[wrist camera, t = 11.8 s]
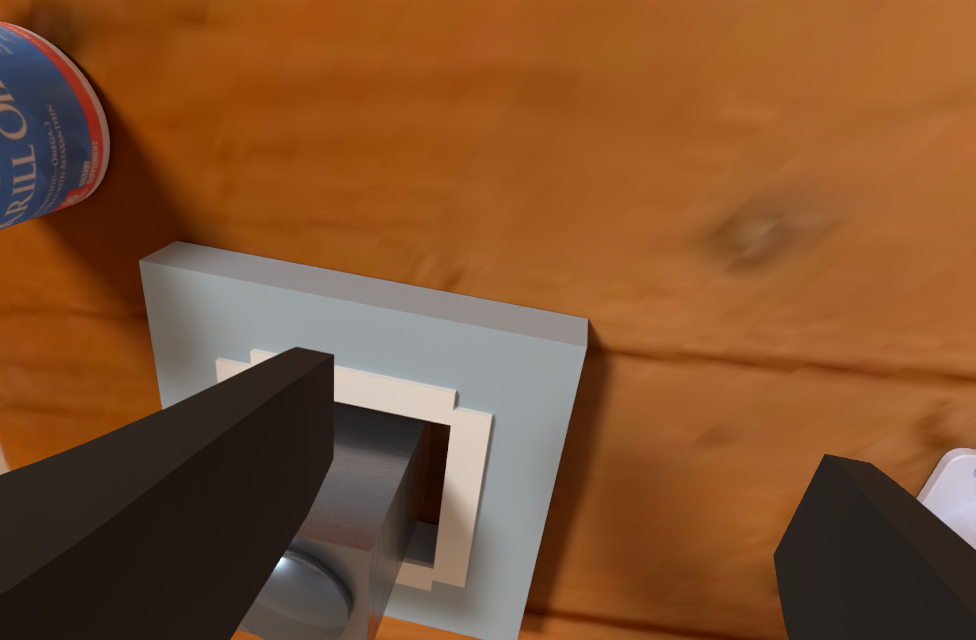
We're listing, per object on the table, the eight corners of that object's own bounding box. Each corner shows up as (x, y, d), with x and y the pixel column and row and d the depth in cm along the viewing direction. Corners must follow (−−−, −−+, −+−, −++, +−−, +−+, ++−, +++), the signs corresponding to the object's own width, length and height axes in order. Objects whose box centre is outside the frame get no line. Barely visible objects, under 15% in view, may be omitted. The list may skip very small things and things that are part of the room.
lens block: (433, 404, 21) (364, 564, 15) (425, 499, 23) (361, 674, 17) (310, 380, 21) (193, 526, 15) (313, 476, 23) (211, 638, 17)
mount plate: (588, 318, 18) (587, 350, 16) (521, 606, 24) (514, 652, 23) (176, 240, 19) (134, 262, 18) (213, 534, 26) (184, 572, 24)
